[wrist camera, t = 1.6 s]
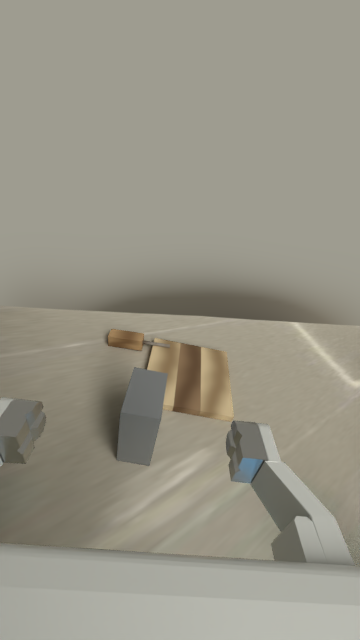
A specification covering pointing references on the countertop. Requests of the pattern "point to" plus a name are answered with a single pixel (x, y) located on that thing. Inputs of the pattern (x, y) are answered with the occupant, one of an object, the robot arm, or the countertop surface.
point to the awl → (129, 340)
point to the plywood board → (194, 379)
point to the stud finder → (141, 416)
